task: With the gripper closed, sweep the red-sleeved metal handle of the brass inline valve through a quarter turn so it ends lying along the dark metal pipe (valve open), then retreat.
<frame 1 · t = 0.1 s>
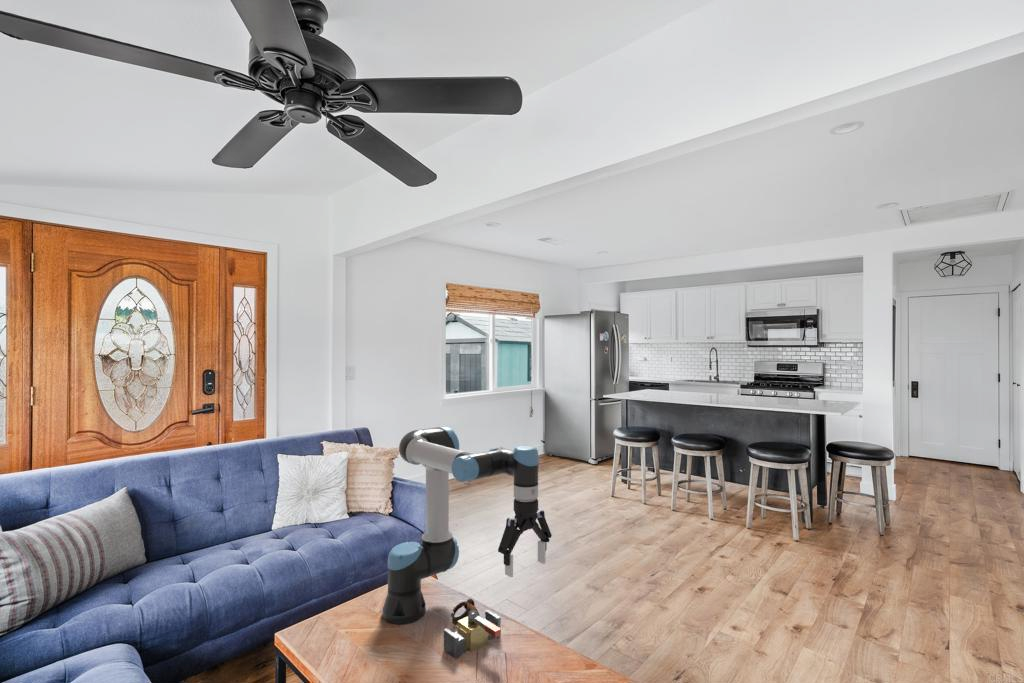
hand: (525, 568, 150), 28 cm above the table, fingers open, 13 cm apart
pottery mug: (467, 623, 171), on the table
lever: (483, 623, 155), point 9 cm above the table, hinge at 0.0°
valve body: (472, 643, 159), on the table
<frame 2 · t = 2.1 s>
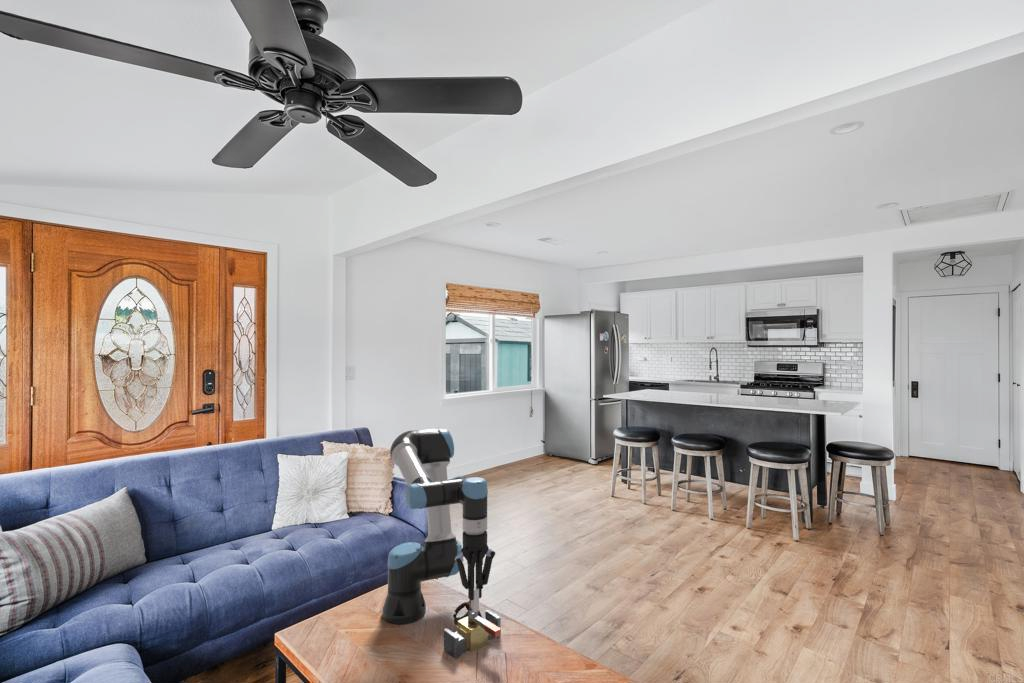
hand: (474, 609, 150), 16 cm above the table, fingers closed
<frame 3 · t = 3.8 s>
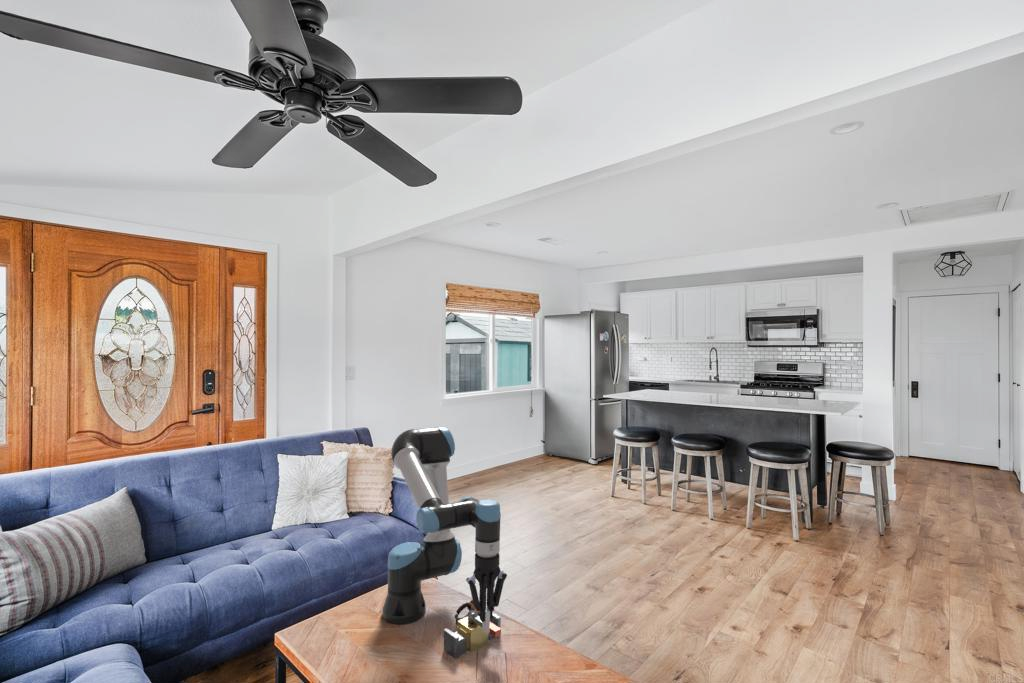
hand: (485, 630, 151), 8 cm above the table, fingers closed
lever: (483, 623, 155), point 9 cm above the table, hinge at 0.3°, touching gripper
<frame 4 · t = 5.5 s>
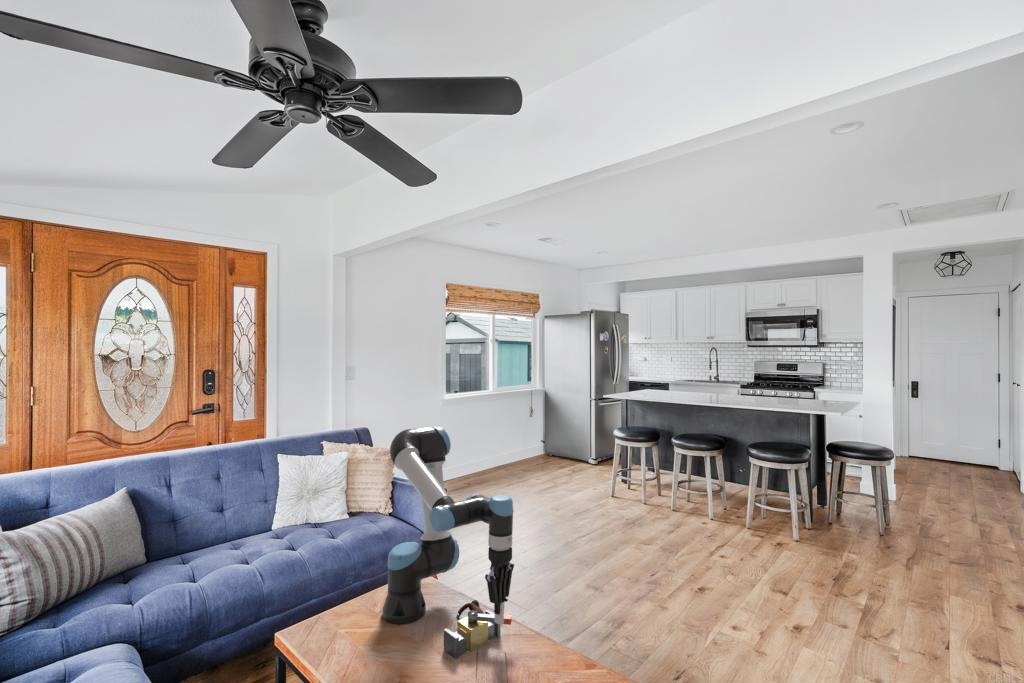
hand: (499, 622, 156), 8 cm above the table, fingers closed
lever: (489, 618, 158), point 9 cm above the table, hinge at 39.3°, touching gripper
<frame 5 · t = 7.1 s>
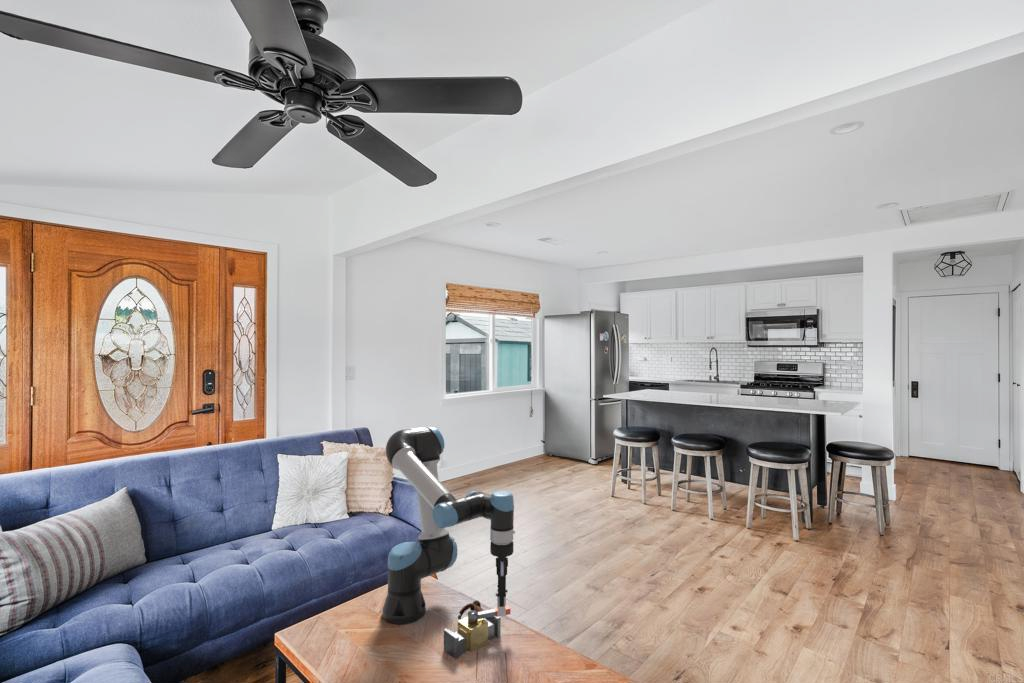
hand: (501, 614, 160), 8 cm above the table, fingers closed
lever: (489, 613, 161), point 9 cm above the table, hinge at 68.4°, touching gripper
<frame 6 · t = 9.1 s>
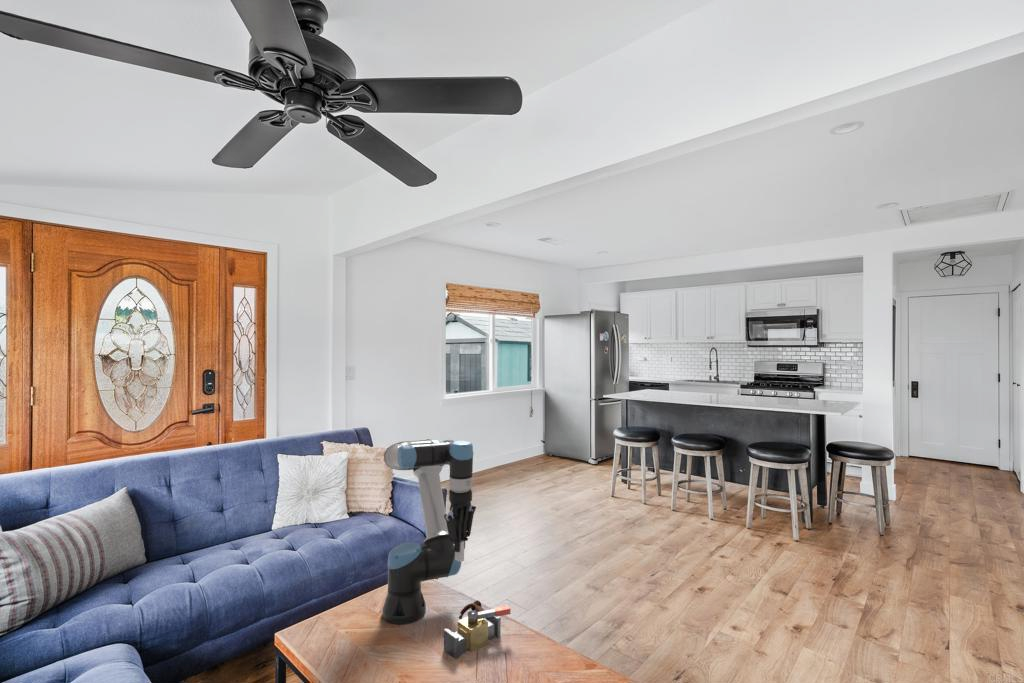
hand: (459, 560, 163), 25 cm above the table, fingers closed
lever: (489, 613, 161), point 8 cm above the table, hinge at 68.5°
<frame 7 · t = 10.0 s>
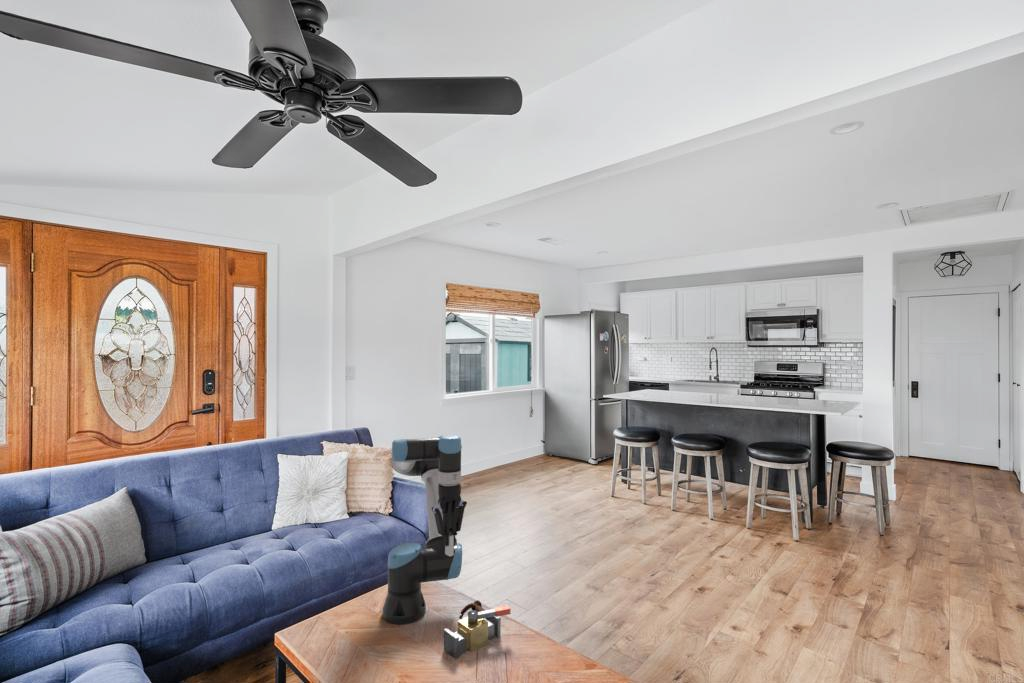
hand: (449, 554, 164), 26 cm above the table, fingers closed
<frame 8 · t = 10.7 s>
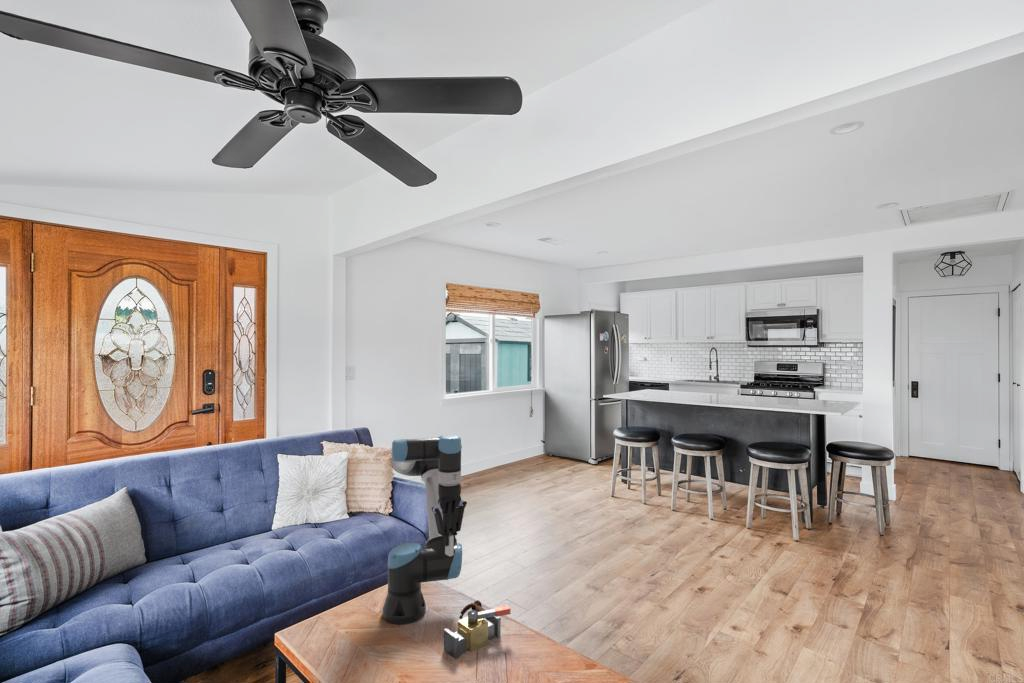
hand: (449, 554, 164), 26 cm above the table, fingers closed
at the end: lever at +68° (first picture: +0°) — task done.
